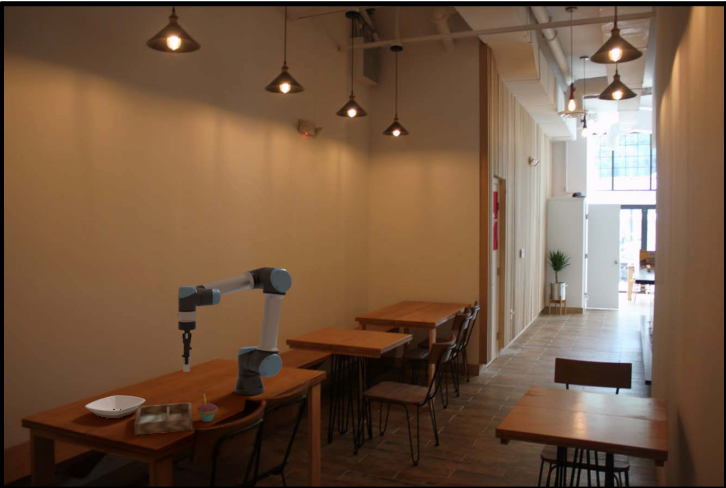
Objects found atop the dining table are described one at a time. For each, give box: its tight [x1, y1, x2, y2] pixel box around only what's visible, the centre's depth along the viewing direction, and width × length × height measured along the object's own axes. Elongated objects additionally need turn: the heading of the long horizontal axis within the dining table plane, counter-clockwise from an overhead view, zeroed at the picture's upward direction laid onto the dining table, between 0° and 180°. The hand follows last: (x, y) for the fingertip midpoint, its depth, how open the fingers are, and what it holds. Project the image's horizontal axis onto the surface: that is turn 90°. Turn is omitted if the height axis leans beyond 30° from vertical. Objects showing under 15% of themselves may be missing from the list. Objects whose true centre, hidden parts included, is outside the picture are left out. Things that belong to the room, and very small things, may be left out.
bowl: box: [84, 394, 146, 419], centre depth 262 cm, size 22×22×5 cm
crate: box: [133, 402, 193, 435], centre depth 249 cm, size 22×24×5 cm
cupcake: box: [197, 393, 219, 423], centre depth 255 cm, size 9×8×12 cm
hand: (186, 368), depth 260 cm, fingers open, 13 cm apart
